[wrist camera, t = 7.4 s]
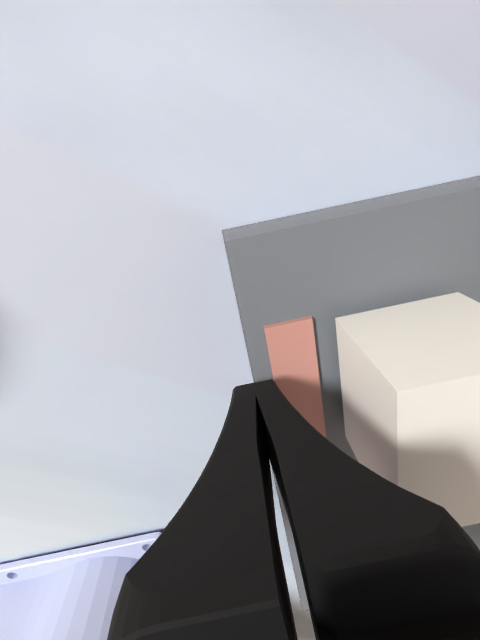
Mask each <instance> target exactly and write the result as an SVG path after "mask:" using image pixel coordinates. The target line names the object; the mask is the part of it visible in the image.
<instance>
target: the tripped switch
mask: <svg viewBox="0 0 480 640" xmlns="http://www.w3.org/2000/svg"><path fill="white" fill-rule="evenodd" d="M335 322H336V334H337V345H338V357H339V368H340V380H341V391H342V403H343V414H344V426H345V437H346V438H347V440H348V442H349V444H350V446H351V448H352V450H353V452H354V454H355V456H356V458H357V460H358V462H359V463H361V464H362V465H364V466H365V467H367V468H369V469H370V470H372V471H373V472H375V473H377V474H378V475H380V476H381V477H383V478H385V479H386V480H388V481H390V482H392V483H394V484H396V485H397V486H399V487H401V488H403V489H405V490H407V491H410V492H412V493H414V494H416V495H418V496H420V497H422V498H425V499H427V500H429V501H431V502H433V503H435V504H438V505H440V506H442V507H444V508H445V509H446V510H447V511H448V512H449V514H450V515H451V516H452V517H453V518H454V519H455V520H456V521H457V522H458V524H459V525H460V526H461V527H464V526H469V525H473V524H478V523H480V303H479V302H477V301H475V300H473V299H471V298H469V297H467V296H465V295H463V294H461V293H459V292H456V293H451V294H446V295H442V296H437V297H432V298H427V299H423V300H418V301H413V302H408V303H404V304H399V305H394V306H389V307H385V308H380V309H375V310H370V311H366V312H361V313H356V314H351V315H347V316H342V317H337V318H335Z"/></svg>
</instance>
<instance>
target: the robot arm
mask: <svg viewBox="0 0 480 640" xmlns="http://www.w3.org/2000/svg"><path fill="white" fill-rule="evenodd" d="M269 459H270V462H271V465H272V469H273V472H274V475H275V478H276V481H277V485H278V488H279V491H280V494H281V497H282V501H283V504H284V507H285V510H286V513H287V516H288V520H289V523H290V527H291V531H292V534H293V538H294V543H295V547H296V552H297V556H298V561H299V565H300V570H301V574H302V579H303V583H304V588H305V592H306V597H307V601H308V606H309V610H310V615H311V619H312V624H313V628H314V633H315V637H316V640H480V550H479V548H478V547H477V545H476V544H475V543H474V541H473V540H472V539H471V538H470V536H469V535H468V534H467V533H466V532H465V531H464V529H463V528H462V527H461V526H460V525H459V524H458V522H457V521H456V520H455V519H454V518H453V517H452V516H451V515H450V514H449V512H448V511H447V510H446V509H445V508H444V507H442V506H440V505H438V504H435V503H433V502H431V501H429V500H427V499H425V498H422V497H420V496H418V495H416V494H414V493H412V492H410V491H407V490H405V489H403V488H401V487H399V486H397V485H396V484H394V483H392V482H390V481H388V480H386V479H385V478H383V477H381V476H380V475H378V474H377V473H375V472H373V471H372V470H370V469H369V468H367V467H365V466H364V465H362V464H361V463H359V462H357V461H356V460H354V459H353V458H351V457H350V456H349V455H347V454H346V453H345V452H343V451H342V450H340V449H339V448H338V447H337V446H335V445H334V444H333V443H331V442H330V441H329V440H328V439H326V438H325V437H324V436H323V435H322V434H321V433H320V432H318V431H317V430H316V429H315V428H314V427H313V426H312V425H311V424H310V423H309V422H308V421H307V420H306V419H305V418H304V417H303V416H302V415H301V414H300V413H299V412H298V411H297V410H296V409H295V408H294V407H293V406H292V404H291V403H290V402H289V401H288V400H287V398H286V397H285V396H284V395H283V393H282V392H281V391H280V389H279V388H278V386H277V385H276V383H275V381H273V380H272V379H269V380H265V381H260V382H255V383H250V384H246V385H241V386H236V387H235V388H234V389H233V394H232V399H231V403H230V407H229V411H228V414H227V417H226V420H225V423H224V426H223V429H222V431H221V434H220V436H219V439H218V441H217V443H216V446H215V448H214V450H213V453H212V455H211V457H210V459H209V461H208V463H207V465H206V467H205V469H204V470H203V472H202V474H201V476H200V478H199V479H198V481H197V483H196V484H195V486H194V488H193V489H192V491H191V492H190V494H189V496H188V497H187V499H186V500H185V502H184V503H183V505H182V506H181V508H180V509H179V510H178V512H177V513H176V514H175V516H174V517H173V518H172V520H171V521H170V522H169V524H168V525H167V526H166V528H165V529H164V531H163V532H154V533H149V534H144V535H139V536H135V537H130V538H125V539H120V540H115V541H111V542H106V543H101V544H96V545H91V546H87V547H82V548H77V549H72V550H68V551H63V552H58V553H53V554H48V555H44V556H39V557H34V558H29V559H24V560H20V561H15V562H10V563H5V564H0V640H298V639H297V634H296V629H295V624H294V619H293V613H292V608H291V603H290V598H289V593H288V587H287V582H286V577H285V572H284V567H283V561H282V556H281V551H280V546H279V540H278V534H277V527H276V519H275V509H274V500H273V490H272V481H271V471H270V462H269Z"/></svg>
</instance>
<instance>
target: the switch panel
mask: <svg viewBox="0 0 480 640" xmlns="http://www.w3.org/2000/svg"><path fill="white" fill-rule="evenodd" d="M222 233H223V238H224V243H225V248H226V252H227V257H228V262H229V267H230V271H231V276H232V281H233V286H234V290H235V295H236V300H237V304H238V309H239V314H240V319H241V323H242V328H243V333H244V337H245V342H246V347H247V352H248V356H249V361H250V366H251V371H252V375H253V380H254V383H255V382H260V381H265V380H269V379H272V380H273V381H275V383H276V385H277V386H278V388H279V389H280V391H281V392H282V393H283V395H284V396H285V397H286V398H287V400H288V401H289V402H290V403H291V404H292V406H293V407H294V408H295V409H296V410H297V411H298V412H299V413H300V414H301V415H302V416H303V417H304V418H305V419H306V420H307V421H308V422H309V423H310V424H311V425H312V426H313V427H314V428H315V429H316V430H317V431H318V432H320V433H321V434H322V435H323V436H324V437H325V438H326V439H328V440H329V441H330V442H331V443H333V444H334V445H335V446H337V447H338V448H339V449H340V450H342V451H343V452H345V453H346V454H347V455H349V456H350V457H351V458H353V459H354V460H356V461H357V462H358V460H357V458H356V456H355V454H354V452H353V450H352V448H351V446H350V444H349V442H348V440H347V438H346V437H345V426H344V414H343V403H342V391H341V380H340V368H339V357H338V345H337V334H336V322H335V318H337V317H342V316H347V315H351V314H356V313H361V312H366V311H370V310H375V309H380V308H385V307H389V306H394V305H399V304H404V303H408V302H413V301H418V300H423V299H427V298H432V297H437V296H442V295H446V294H451V293H456V292H459V293H461V294H463V295H465V296H467V297H469V298H471V299H473V300H475V301H477V302H479V303H480V176H476V177H471V178H467V179H462V180H457V181H452V182H448V183H443V184H438V185H434V186H429V187H424V188H419V189H415V190H410V191H405V192H401V193H396V194H391V195H386V196H382V197H377V198H372V199H368V200H363V201H358V202H353V203H349V204H344V205H339V206H335V207H330V208H325V209H320V210H316V211H311V212H306V213H301V214H297V215H292V216H287V217H283V218H278V219H273V220H268V221H264V222H259V223H254V224H250V225H245V226H240V227H235V228H231V229H226V230H222ZM272 470H273V469H272ZM273 474H274V472H273ZM274 479H275V484H276V489H277V493H278V498H279V503H280V508H281V512H282V517H283V522H284V526H285V531H286V536H287V541H288V545H289V550H290V555H291V559H292V564H293V569H294V574H295V578H296V583H297V588H298V593H299V597H300V602H301V607H302V611H307V610H309V606H308V601H307V597H306V592H305V588H304V583H303V579H302V574H301V570H300V565H299V561H298V556H297V552H296V547H295V543H294V538H293V534H292V531H291V527H290V523H289V520H288V516H287V513H286V510H285V507H284V504H283V501H282V497H281V494H280V491H279V488H278V485H277V481H276V478H275V475H274ZM462 528H463V529H464V531H465V532H466V533H467V534H468V535H469V536H470V538H471V539H472V540H473V541H474V543H475V544H476V545H477V547H478V548H479V550H480V523H478V524H473V525H469V526H464V527H462Z"/></svg>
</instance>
